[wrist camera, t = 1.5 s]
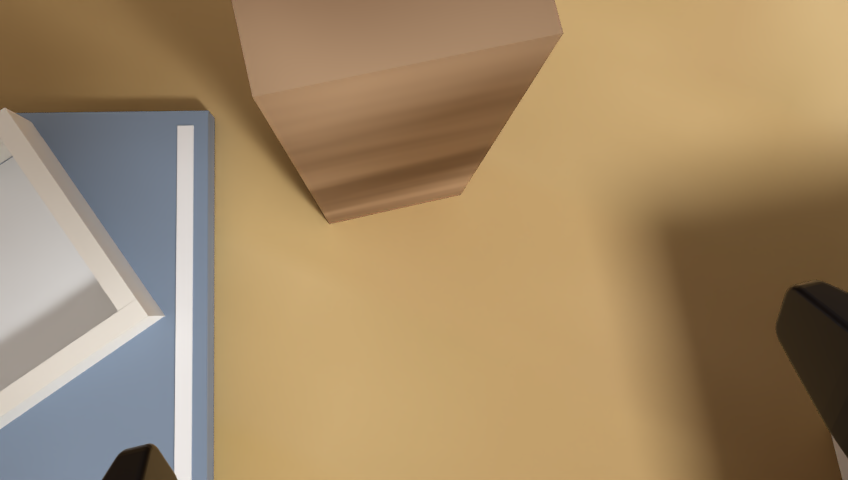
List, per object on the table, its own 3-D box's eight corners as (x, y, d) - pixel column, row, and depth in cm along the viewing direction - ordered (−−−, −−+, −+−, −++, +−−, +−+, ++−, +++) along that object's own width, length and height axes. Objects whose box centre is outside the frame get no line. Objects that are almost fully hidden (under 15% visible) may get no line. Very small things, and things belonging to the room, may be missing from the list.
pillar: (460, 194, 22) (563, 33, 10) (329, 224, 22) (252, 97, 9) (429, 68, 23) (488, -249, 10) (300, 95, 23) (188, -199, 10)
